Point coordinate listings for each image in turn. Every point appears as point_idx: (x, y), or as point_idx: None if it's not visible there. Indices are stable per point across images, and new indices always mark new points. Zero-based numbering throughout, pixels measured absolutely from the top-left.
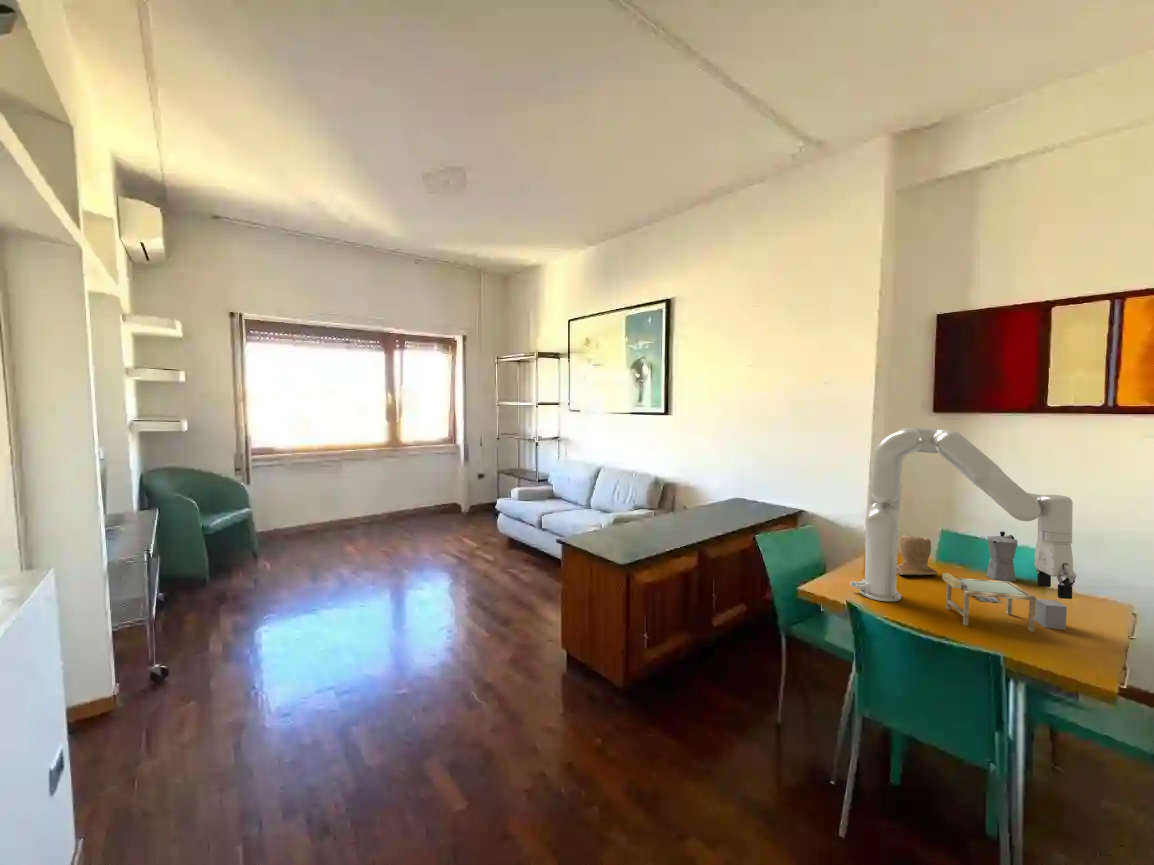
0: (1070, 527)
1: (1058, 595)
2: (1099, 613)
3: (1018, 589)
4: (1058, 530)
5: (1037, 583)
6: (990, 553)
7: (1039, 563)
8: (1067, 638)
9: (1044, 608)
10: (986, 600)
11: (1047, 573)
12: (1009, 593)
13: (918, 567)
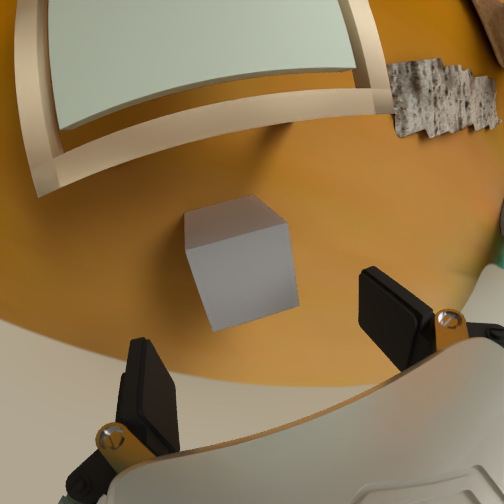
0: None
1: (132, 348)
2: (372, 355)
3: (225, 102)
4: None
5: (380, 271)
6: None
7: (453, 437)
8: (110, 261)
9: (198, 237)
10: (394, 89)
11: (216, 453)
12: (48, 30)
13: (497, 20)
